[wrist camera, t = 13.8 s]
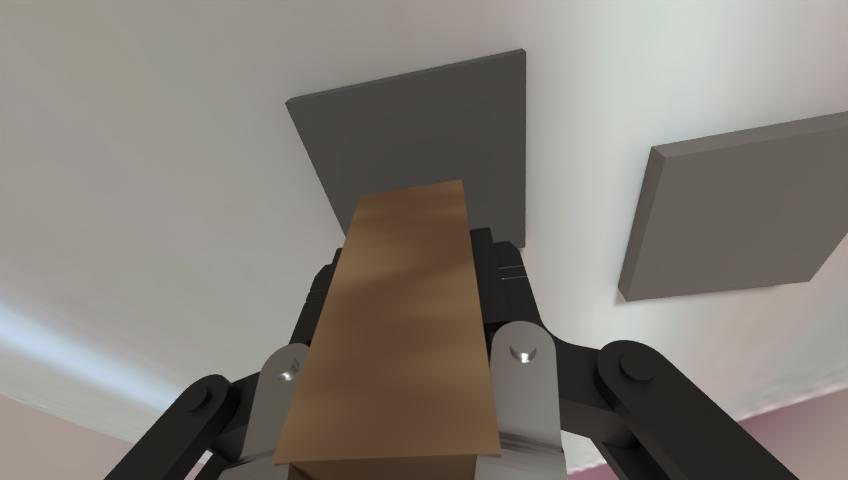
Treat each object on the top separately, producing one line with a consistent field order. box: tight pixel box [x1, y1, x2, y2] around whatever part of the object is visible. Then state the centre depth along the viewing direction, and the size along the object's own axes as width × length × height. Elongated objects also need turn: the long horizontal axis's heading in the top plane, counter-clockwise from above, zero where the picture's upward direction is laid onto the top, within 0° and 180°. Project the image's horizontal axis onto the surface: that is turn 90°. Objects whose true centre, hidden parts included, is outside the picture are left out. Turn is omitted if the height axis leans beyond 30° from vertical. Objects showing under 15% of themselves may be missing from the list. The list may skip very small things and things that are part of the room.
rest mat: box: [285, 49, 526, 248], centre depth 15 cm, size 9×9×1 cm
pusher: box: [272, 179, 502, 480], centre depth 9 cm, size 4×4×8 cm
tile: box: [618, 111, 848, 301], centre depth 15 cm, size 9×2×9 cm
